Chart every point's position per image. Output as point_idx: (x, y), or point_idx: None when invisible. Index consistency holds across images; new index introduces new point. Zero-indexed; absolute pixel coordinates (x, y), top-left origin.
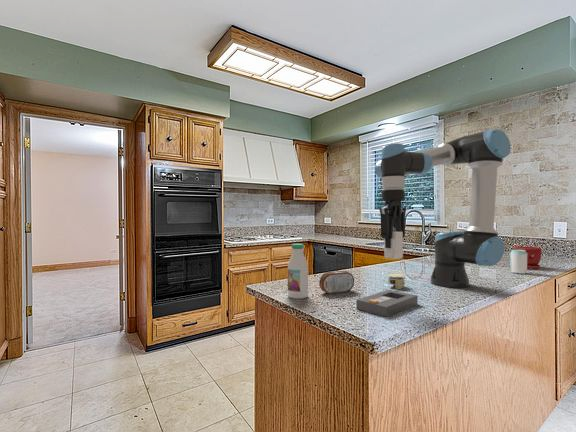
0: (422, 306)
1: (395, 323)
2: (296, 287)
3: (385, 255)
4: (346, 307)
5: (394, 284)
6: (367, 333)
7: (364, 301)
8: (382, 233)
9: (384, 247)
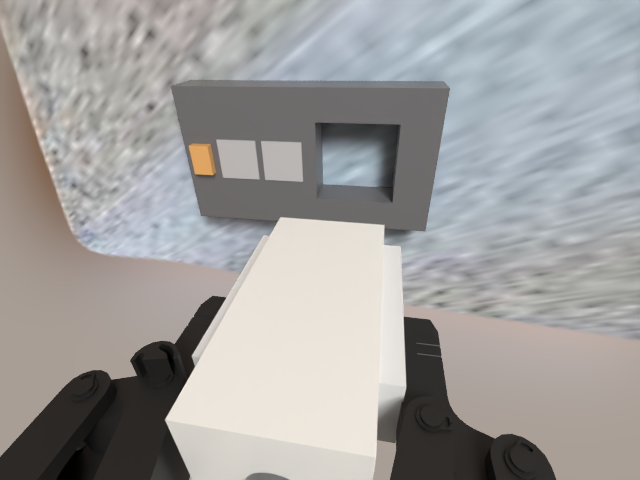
0: (404, 235)
1: (197, 238)
2: None
3: (260, 243)
4: (167, 35)
5: None
6: (93, 222)
7: (182, 127)
8: (64, 417)
9: (251, 268)
